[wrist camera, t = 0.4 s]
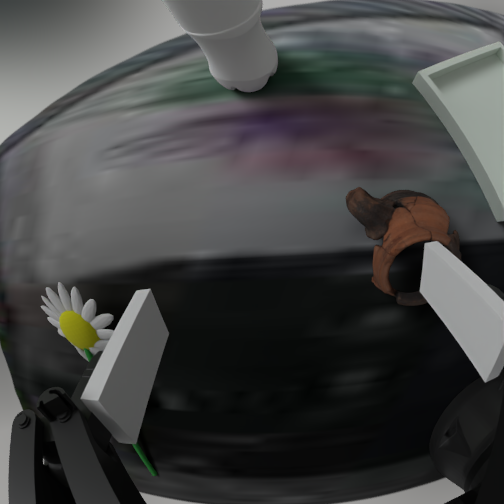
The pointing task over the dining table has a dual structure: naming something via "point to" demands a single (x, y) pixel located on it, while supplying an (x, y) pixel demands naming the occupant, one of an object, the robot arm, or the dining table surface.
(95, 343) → the decorative flower
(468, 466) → the robot arm
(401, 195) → the broken clay pot
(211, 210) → the dining table surface
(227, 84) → the water bottle
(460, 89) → the tray
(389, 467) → the dining table surface
